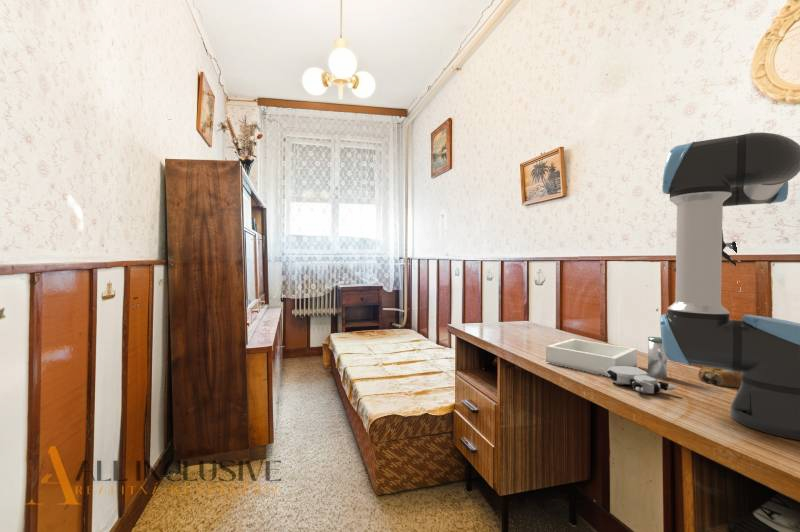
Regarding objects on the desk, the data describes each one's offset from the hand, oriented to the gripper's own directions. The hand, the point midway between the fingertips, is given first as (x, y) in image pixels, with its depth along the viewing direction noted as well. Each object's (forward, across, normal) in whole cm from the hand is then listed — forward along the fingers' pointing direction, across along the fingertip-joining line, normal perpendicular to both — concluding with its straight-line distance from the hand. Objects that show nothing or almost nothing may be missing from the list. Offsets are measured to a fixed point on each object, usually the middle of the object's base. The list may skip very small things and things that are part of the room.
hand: (713, 291), depth 122 cm
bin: (+25, +37, +15) cm, 47 cm away
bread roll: (+28, +2, +14) cm, 31 cm away
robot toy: (+27, +23, +35) cm, 50 cm away
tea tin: (+26, +18, +18) cm, 37 cm away
